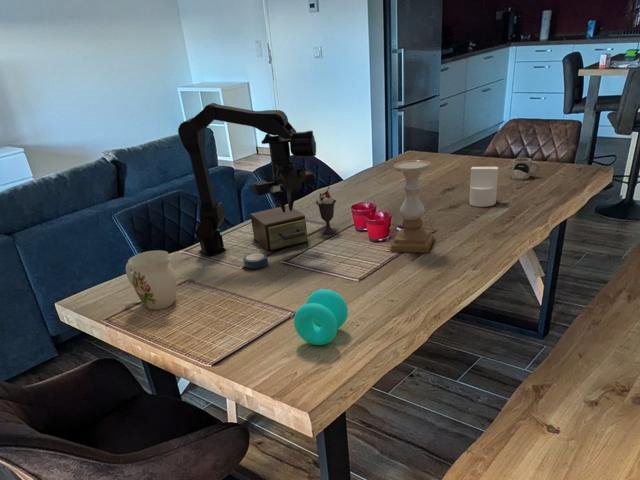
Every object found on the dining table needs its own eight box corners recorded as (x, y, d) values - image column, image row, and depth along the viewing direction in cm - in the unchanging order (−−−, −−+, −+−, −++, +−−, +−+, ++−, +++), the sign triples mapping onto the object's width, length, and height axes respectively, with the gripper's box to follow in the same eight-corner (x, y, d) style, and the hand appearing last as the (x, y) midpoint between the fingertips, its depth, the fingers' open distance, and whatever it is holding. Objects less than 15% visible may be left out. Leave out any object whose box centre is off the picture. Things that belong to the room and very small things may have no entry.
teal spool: (294, 345, 126) (289, 305, 121) (311, 324, 134) (306, 285, 128) (336, 349, 122) (332, 309, 117) (350, 327, 130) (348, 288, 125)
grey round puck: (253, 272, 164) (251, 263, 162) (239, 266, 169) (238, 257, 167) (273, 264, 168) (271, 255, 166) (259, 259, 172) (258, 250, 171)
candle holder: (433, 239, 173) (434, 159, 160) (427, 252, 164) (428, 169, 152) (398, 238, 176) (397, 159, 164) (390, 251, 168) (388, 169, 155)
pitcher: (149, 290, 160) (136, 244, 153) (196, 299, 151) (185, 251, 144) (119, 306, 152) (104, 258, 145) (168, 317, 144) (154, 267, 136)
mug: (511, 179, 219) (512, 162, 216) (511, 175, 224) (513, 158, 221) (538, 179, 216) (540, 161, 213) (538, 174, 222) (540, 157, 218)
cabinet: (307, 241, 182) (305, 215, 177) (268, 251, 178) (264, 224, 173) (291, 229, 193) (288, 205, 188) (254, 238, 189) (250, 213, 184)
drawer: (314, 245, 176) (312, 223, 172) (277, 254, 172) (274, 232, 168) (292, 229, 190) (290, 210, 186) (258, 238, 186) (254, 218, 183)
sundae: (336, 234, 185) (333, 188, 177) (316, 235, 186) (312, 189, 178) (340, 227, 190) (336, 182, 182) (320, 228, 191) (316, 183, 184)
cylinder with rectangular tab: (467, 206, 197) (468, 171, 190) (471, 198, 204) (473, 164, 197) (493, 207, 193) (496, 171, 187) (497, 199, 200) (500, 164, 194)
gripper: (259, 169, 153) (268, 225, 162) (321, 157, 159) (326, 211, 167) (246, 162, 162) (255, 215, 170) (305, 151, 168) (311, 202, 176)
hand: (287, 211), depth 171 cm, fingers closed
